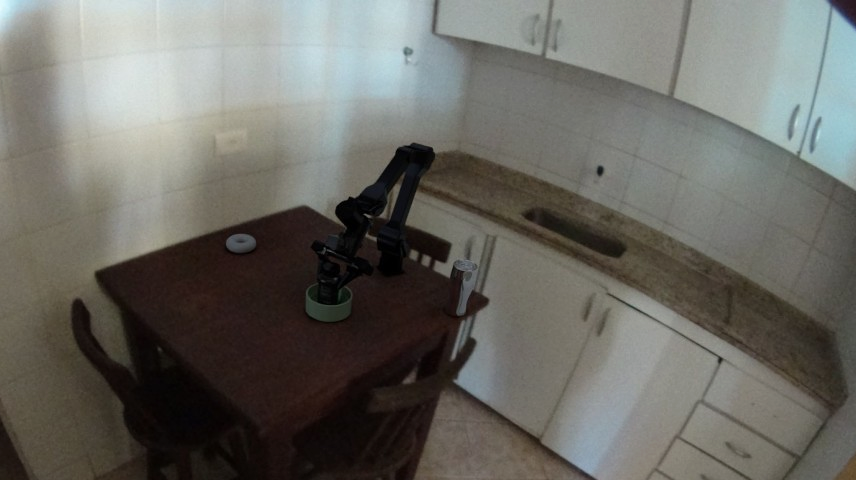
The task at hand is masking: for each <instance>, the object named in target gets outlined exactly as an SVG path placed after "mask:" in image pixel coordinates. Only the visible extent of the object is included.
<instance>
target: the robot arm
mask: <svg viewBox="0 0 856 480" xmlns="http://www.w3.org/2000/svg"><path fill="white" fill-rule="evenodd" d="M435 159H436V152H435V150H434V148H433V146H430V145H425V144H422V143H418V142H411V143H410V144H404V145H403V144H402V146H398V147H396V150H395V152H394V155H393V157H392V158H391V159H390V161H389V162H388V164H387V165H386V166H385V168H384V169H383V170H382V172H381V173H380V175H379V176H378V178H377V179H376V181H374V182H373V183H372V184H370V185H368V186H366V187H365V188H364V189H363V190H362V191H360V193H359V194H358V195H357V196H356V197H353V196H351V195H349V196H348V198H347V199H344V200H342V201H340V202H339V203H338V204H337V205H336V206H335V209H334V215H335V217H336V218H337V219H338V221H340V222H341V224H342V225H343V226H344V227H345V229H344V231H340V232H339V234H338V235H336V234H330V233H329V234H327V237H326V241H325V242H323V241H320V240H318V239H315V240H313V241H312V242H311V244H310V246H309V248H310V249H311V250H312V251H313V252H314V253H315V255H317V258H318V261H317V262H318V263H317V272H316V277H315V278H316V279H315V280H316V281H317V282H318V277H319V275H320V273H321V272H322V267H323V264H324V263H327V262H332V260H330V257H331V258H334V259H336V260H338V261H341V262H343V263H345V264H346V267H345V272H344V273H343V275H342V276H343V277H342V279H341V280H340V282H339V284H338V286H337V290H340V289H341V288H343V287H344V286H347V285H348V284H349V283H351V282H352V281H354V280H355V279H357V278H359V277H364V275H365V276H368V277H372V275H373V273H374V270H375V268H374V265H373V264H372V263H371V262H370V261H369V260H368V259H367V258H364V257H361V256H356V254H357V252H358V251H359V249H362V248H363V246H364V244H362V243H363V242H364V239H365V237H366V236H367V233H368V232H369V230H370V229H371V230H372V229H373V230H374V223H373V218H379V217H381V215H382V214H383V213H384V211H385V209H386V207H387V205H388V202H389V201H388V200H389V199H388V198H389V197H388V196H389V195H390V193H391V191H392V190H393V189H394V187H395V186H396V184H397V183H398V182H399V180H400V179H401V178H402V176H403V178H402V180H401V184H400V187H399V190H398V193H397V196H396V200H395V202H394V206H393V208H392V212H391V214H390V218H389V220H388V221H387V222H386V223H385V224H381V225H380V228H379V231H378V234H377V236H376V238H375V239H376V240H375V241H376V248H377V251H378V252H381V255H380V257H379V262H378V265H376V267H377V269H379V270H380V271H381V272H382V273H383V274H384V275H385V276H387V277H388V276H394V275H399V274H404V273H405V270H404V268H403V261H404V258H406V259H407V255H408V254H409V253H410V249H411V248H410V245H409V244H408V243H407V242H406V241H407V237H408V234H407V229H406V223H407V220H408V217H409V214H410V211H411V208H412V206H413V202H414V199H415V196H416V193H417V191H418V187H419V185H420V181H421V179H422V177H423V176H424V175H426V174H427V173H428V172H429V171H430V169H431V167H432V164H433V163H434V162H435ZM369 216H370V217H369ZM371 217H372V218H371Z"/></svg>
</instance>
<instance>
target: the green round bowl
mask: <svg viewBox="0 0 856 480" xmlns="http://www.w3.org/2000/svg"><path fill="white" fill-rule="evenodd" d="M317 294H318V282H317V283H314V284H311V285H310V286H309V287H308V288H307V289H306V291H305V300H304V302H305V303H304V304H305V305H304V309H305V312H306V313H307V315H308V316H309V317H312V318H313V319H315V320H317V321H321V322H324V323H325V322H326V323H327V322H328V323H334V322H339V321H343V320H344V319H346V318H348V317H349V316H350V315H351V313H352V310H353V309H352V307H353V299H354V298H353V296H354V294H353V292H352V290H351V289H350V288H349V287H348V286H347V285H345V286H344V287H343V288H342V300H341V304H339V305H322V304H319V303H317Z"/></svg>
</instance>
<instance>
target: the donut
mask: <svg viewBox="0 0 856 480" xmlns="http://www.w3.org/2000/svg"><path fill="white" fill-rule="evenodd" d="M225 246H226V248H227V249H228V250H229V251H230V252H232V253H236V254H247V253H250V252H252V251H254V250H255V249H256V247H257V241H256V239H255V237H253V236H252V235H250V234H248V233H236V234H233V235H230V236H229V237H228V238H227V239H226V241H225Z"/></svg>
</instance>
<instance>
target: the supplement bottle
mask: <svg viewBox="0 0 856 480" xmlns="http://www.w3.org/2000/svg"><path fill="white" fill-rule="evenodd" d="M342 277H343V275H342V273H341V265H340V264H339V263H338V262H335V261H331V262H327V263H324V264H323V267H322V272H321V273H320V275H319V277H318V281H317V283H318V294H317V303H319V304H322V305H339V304H341V300H342V288H341V289H340V290H337V286H338V284H339V282H340V280H341V279H342Z"/></svg>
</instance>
